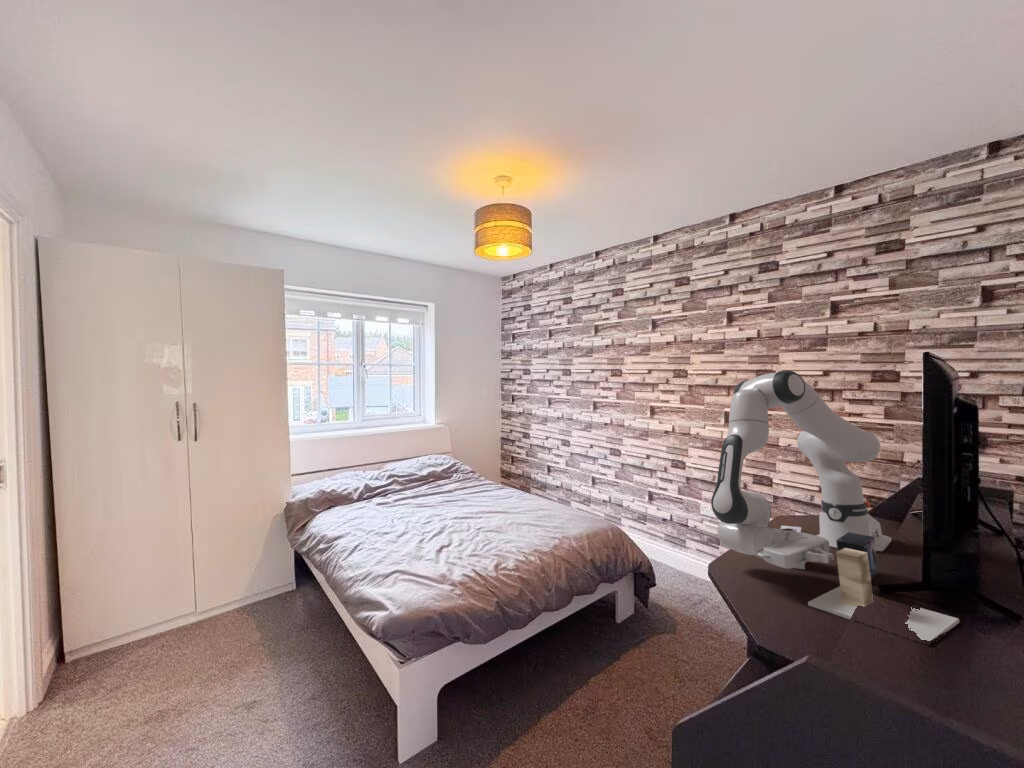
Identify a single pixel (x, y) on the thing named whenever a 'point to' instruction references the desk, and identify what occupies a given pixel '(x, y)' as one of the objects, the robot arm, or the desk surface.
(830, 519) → the robot arm
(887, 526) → the desk surface
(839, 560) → the maple block
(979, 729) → the desk surface
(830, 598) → the rubber mat
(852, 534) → the small box
